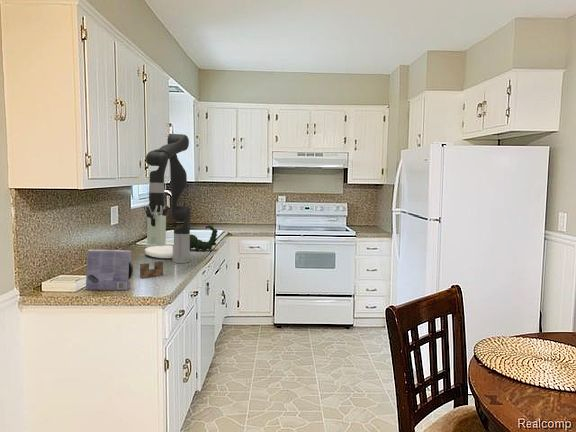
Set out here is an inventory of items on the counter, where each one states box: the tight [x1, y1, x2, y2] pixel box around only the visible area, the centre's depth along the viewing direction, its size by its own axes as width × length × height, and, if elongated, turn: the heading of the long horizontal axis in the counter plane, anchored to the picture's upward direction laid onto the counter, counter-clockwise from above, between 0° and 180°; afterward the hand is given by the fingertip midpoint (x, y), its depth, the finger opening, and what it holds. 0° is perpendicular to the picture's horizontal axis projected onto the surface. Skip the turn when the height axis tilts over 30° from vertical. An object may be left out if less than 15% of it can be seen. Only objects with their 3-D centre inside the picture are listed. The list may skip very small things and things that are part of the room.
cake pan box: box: [85, 249, 134, 291], centre depth 203 cm, size 19×5×18 cm, turn 99°
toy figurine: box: [190, 225, 218, 252], centre depth 313 cm, size 9×19×25 cm
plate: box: [144, 245, 173, 259], centre depth 290 cm, size 28×6×27 cm
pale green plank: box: [146, 214, 167, 246], centre depth 231 cm, size 11×3×15 cm, turn 52°
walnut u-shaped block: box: [139, 260, 164, 279], centre depth 231 cm, size 12×2×7 cm, turn 141°
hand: (156, 225), depth 231 cm, fingers closed on pale green plank, 3 cm apart
